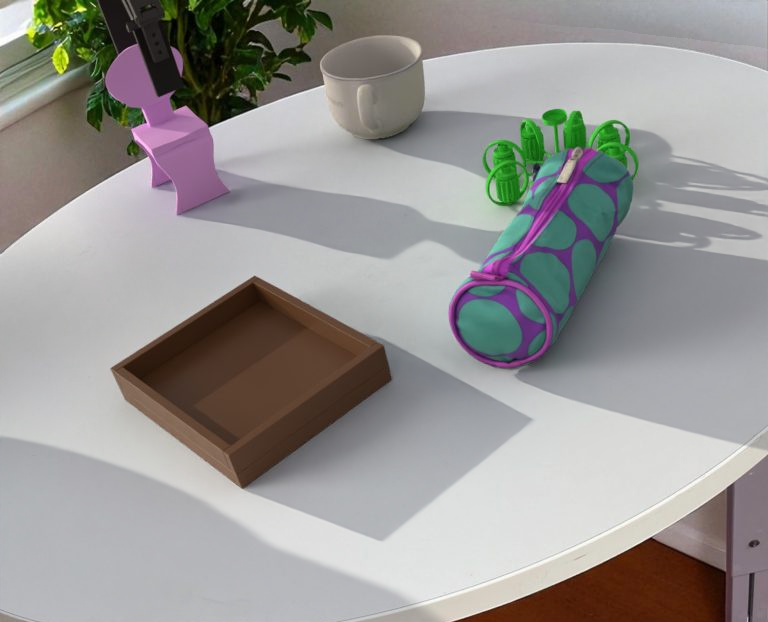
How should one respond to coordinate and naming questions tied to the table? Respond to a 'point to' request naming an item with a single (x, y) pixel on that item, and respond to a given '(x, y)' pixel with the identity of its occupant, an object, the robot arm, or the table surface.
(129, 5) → the robot arm
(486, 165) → the chandelier
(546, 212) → the pencil case
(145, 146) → the toy chair
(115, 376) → the brown wooden tray
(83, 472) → the table surface
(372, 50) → the teacup
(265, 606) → the table surface
